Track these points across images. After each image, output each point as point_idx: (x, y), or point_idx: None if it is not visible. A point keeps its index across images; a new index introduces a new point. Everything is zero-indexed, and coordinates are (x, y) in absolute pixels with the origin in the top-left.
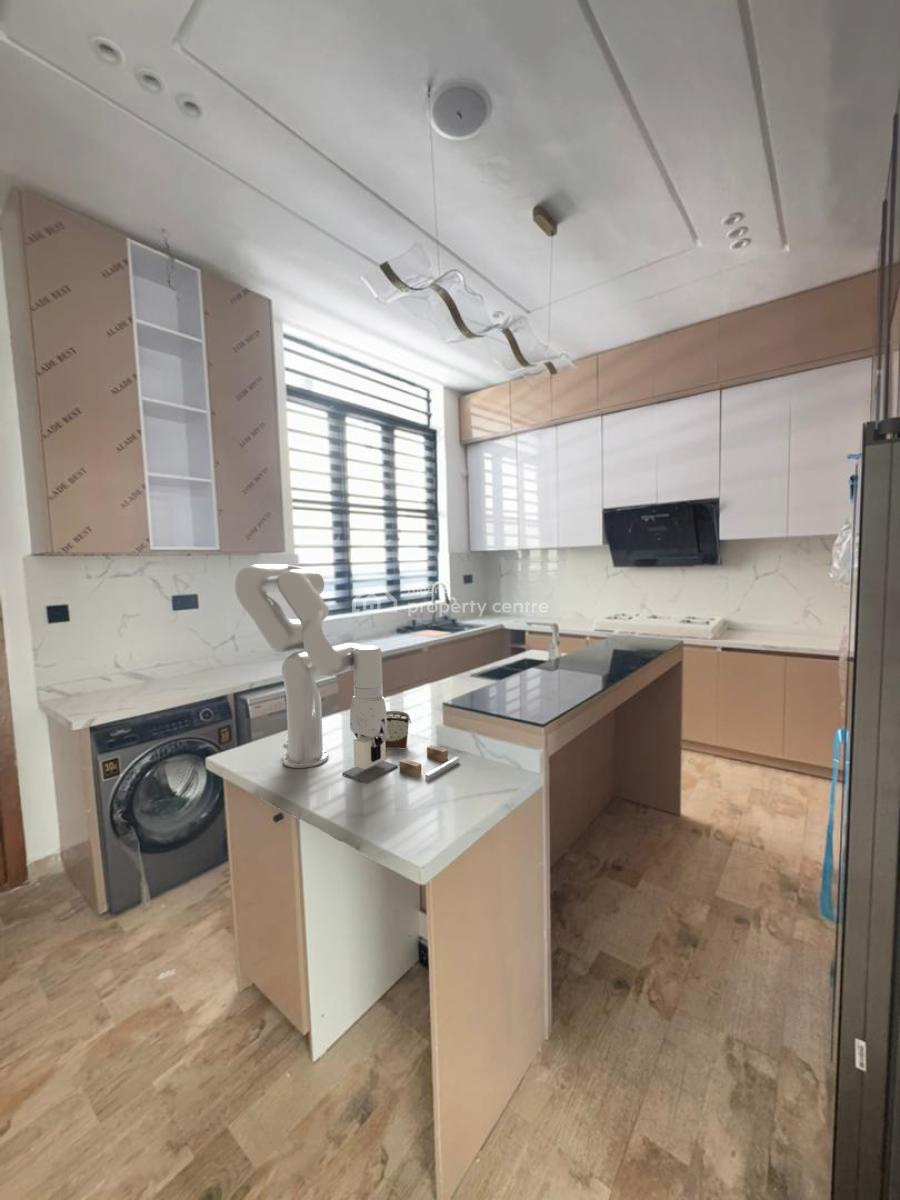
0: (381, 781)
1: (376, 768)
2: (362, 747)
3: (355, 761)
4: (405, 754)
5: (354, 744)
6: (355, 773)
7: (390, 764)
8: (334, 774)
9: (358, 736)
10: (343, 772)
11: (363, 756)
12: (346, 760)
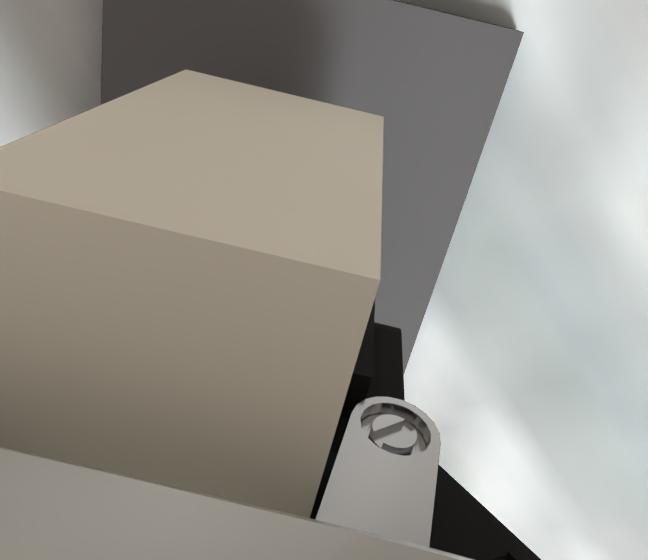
0: (15, 53)
1: None
2: (79, 155)
3: (352, 122)
4: None
5: (348, 223)
6: (352, 74)
7: None
8: (627, 2)
9: (396, 508)
10: (511, 41)
11: (138, 106)
12: (643, 360)
